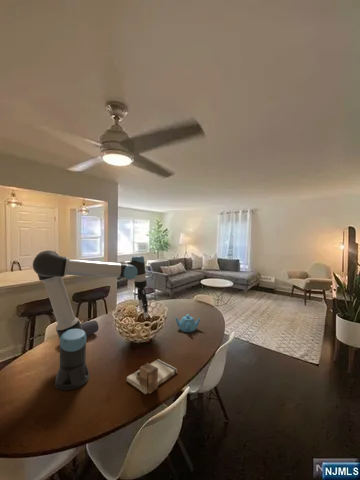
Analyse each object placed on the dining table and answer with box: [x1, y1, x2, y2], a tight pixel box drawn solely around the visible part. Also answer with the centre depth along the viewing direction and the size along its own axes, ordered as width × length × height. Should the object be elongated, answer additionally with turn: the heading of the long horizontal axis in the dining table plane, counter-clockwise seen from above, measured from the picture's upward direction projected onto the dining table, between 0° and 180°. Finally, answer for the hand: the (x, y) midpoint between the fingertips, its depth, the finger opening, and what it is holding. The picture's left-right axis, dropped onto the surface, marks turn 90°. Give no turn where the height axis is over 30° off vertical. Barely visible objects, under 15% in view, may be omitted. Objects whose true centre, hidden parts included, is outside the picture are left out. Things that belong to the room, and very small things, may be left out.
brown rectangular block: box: [136, 362, 159, 394], centre depth 108 cm, size 5×12×10 cm, turn 51°
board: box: [126, 358, 178, 395], centre depth 116 cm, size 22×14×2 cm, turn 141°
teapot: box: [174, 313, 201, 333], centre depth 176 cm, size 15×15×11 cm
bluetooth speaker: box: [80, 320, 100, 338], centre depth 155 cm, size 23×9×10 cm, turn 143°
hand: (143, 313), depth 142 cm, fingers open, 13 cm apart
